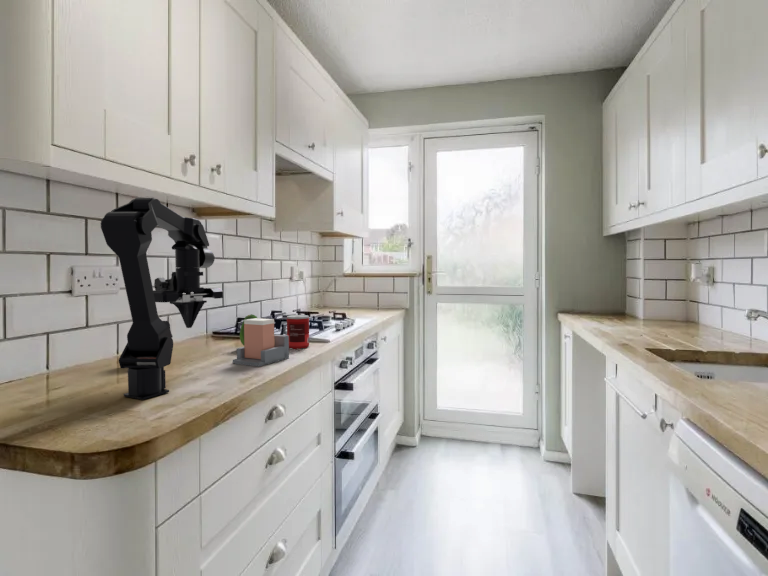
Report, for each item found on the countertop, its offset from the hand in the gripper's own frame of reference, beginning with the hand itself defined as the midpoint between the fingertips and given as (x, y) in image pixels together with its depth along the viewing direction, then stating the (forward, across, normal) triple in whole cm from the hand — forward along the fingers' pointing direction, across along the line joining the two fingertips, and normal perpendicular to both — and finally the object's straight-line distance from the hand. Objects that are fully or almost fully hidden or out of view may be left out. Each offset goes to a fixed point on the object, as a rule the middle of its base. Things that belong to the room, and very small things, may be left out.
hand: (189, 327), depth 113 cm
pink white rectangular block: (+11, -20, +6) cm, 23 cm away
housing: (+12, -20, +6) cm, 24 cm away
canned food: (+12, -44, +2) cm, 46 cm away
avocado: (+12, -34, -10) cm, 37 cm away
